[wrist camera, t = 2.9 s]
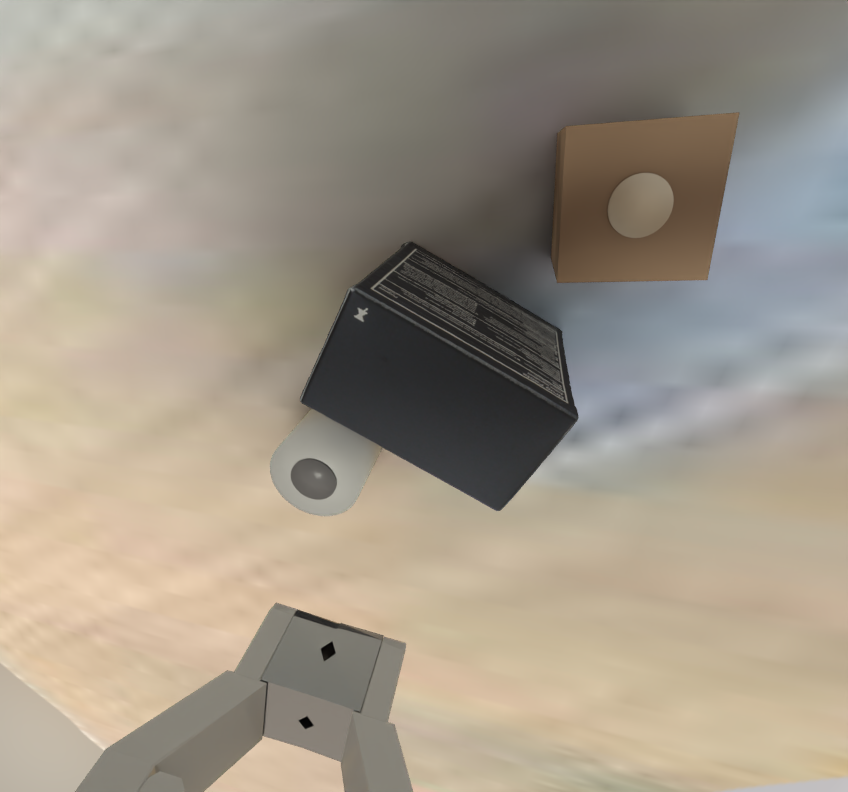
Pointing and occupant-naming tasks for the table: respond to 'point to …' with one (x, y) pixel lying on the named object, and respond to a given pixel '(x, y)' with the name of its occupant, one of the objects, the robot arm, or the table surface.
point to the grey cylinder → (322, 465)
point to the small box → (445, 376)
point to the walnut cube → (640, 198)
